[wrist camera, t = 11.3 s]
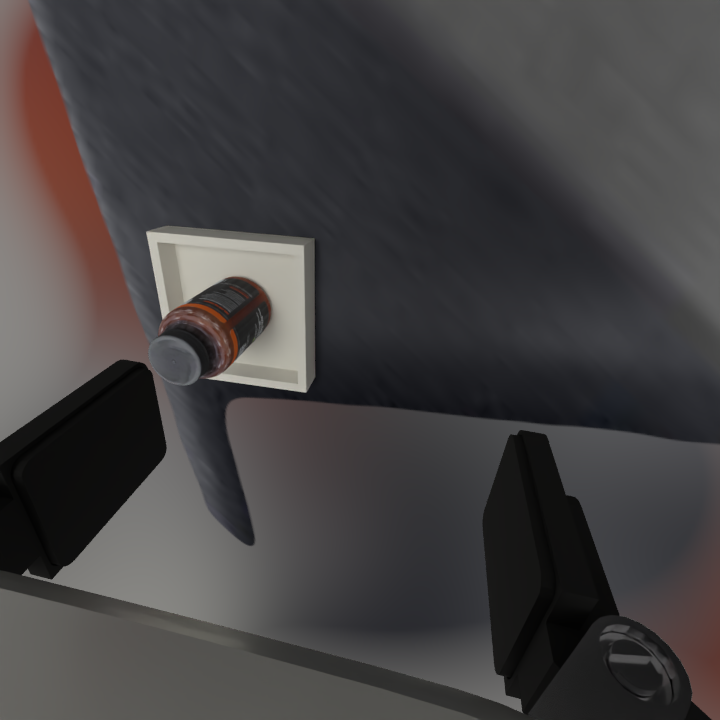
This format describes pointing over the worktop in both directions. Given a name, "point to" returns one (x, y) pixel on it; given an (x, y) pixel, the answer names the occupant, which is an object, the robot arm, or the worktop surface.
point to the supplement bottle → (209, 331)
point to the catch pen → (266, 269)
